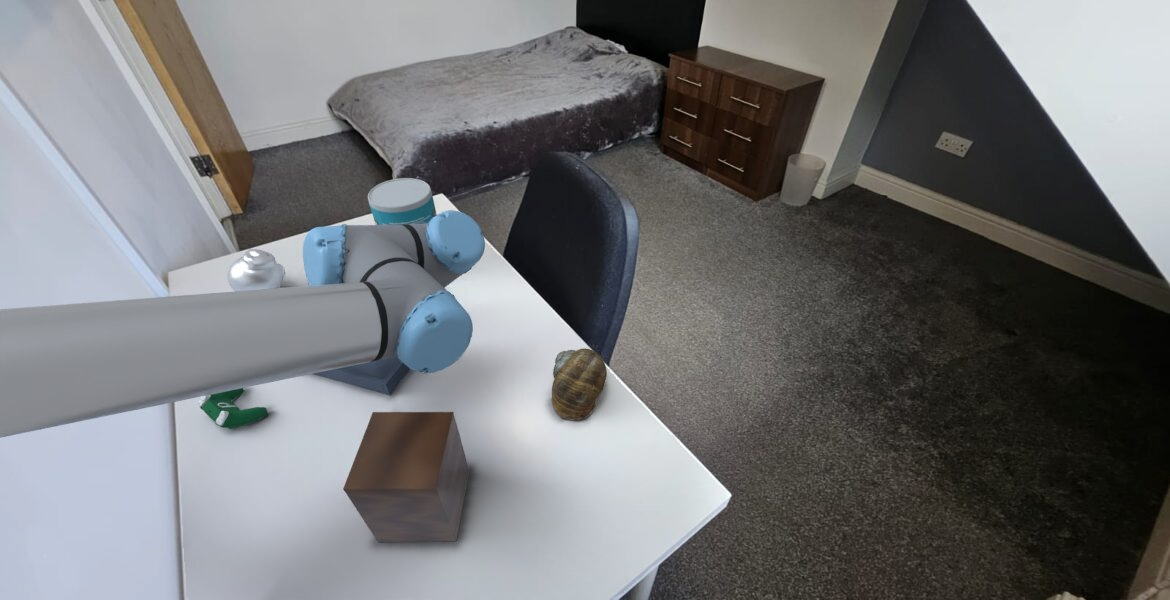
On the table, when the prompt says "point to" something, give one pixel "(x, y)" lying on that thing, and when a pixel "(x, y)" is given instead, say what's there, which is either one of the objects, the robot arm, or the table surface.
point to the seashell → (577, 382)
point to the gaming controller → (229, 410)
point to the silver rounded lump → (255, 272)
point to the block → (410, 477)
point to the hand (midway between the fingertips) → (363, 322)
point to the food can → (402, 202)
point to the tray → (371, 375)
